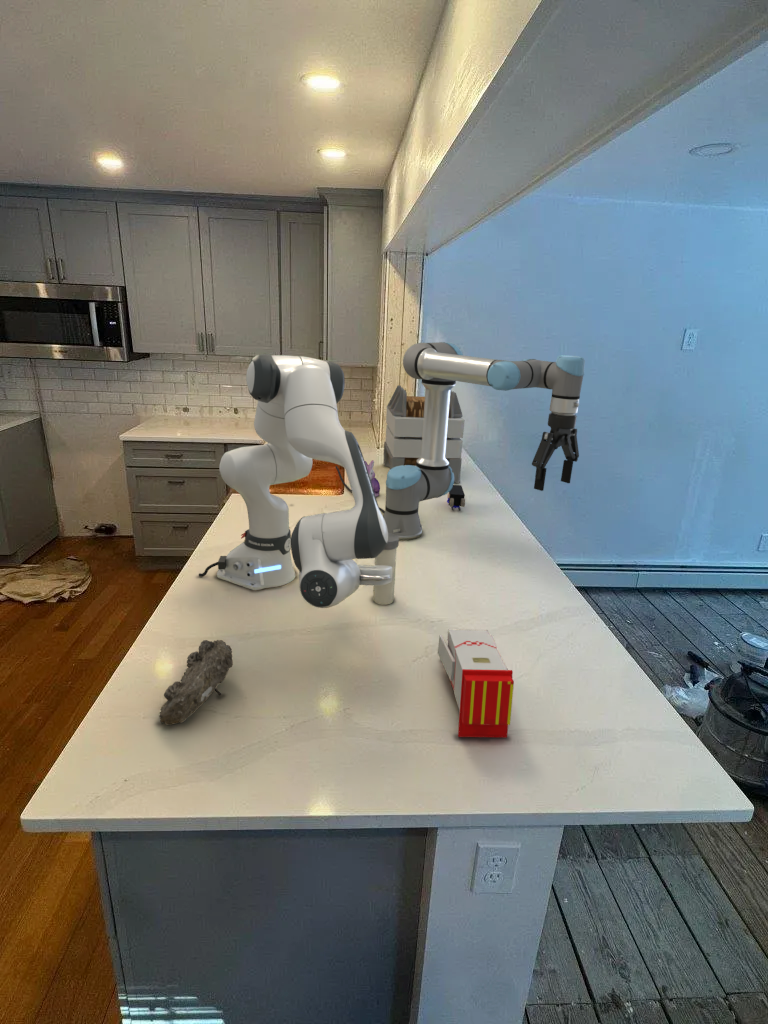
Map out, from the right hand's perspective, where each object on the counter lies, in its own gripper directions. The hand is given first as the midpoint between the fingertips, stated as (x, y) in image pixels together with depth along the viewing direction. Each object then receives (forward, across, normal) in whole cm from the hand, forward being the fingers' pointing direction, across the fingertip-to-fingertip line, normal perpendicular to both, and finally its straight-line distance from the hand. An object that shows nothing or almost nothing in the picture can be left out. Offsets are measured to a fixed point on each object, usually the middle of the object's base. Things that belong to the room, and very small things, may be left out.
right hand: (552, 485), depth 166 cm
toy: (+28, -62, -26) cm, 72 cm away
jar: (+28, -50, +15) cm, 60 cm away
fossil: (+28, -105, +7) cm, 109 cm away
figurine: (+28, +4, +87) cm, 92 cm away
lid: (+10, -50, +15) cm, 53 cm away
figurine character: (+28, +24, +57) cm, 68 cm away
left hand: (+11, -68, +7) cm, 69 cm away
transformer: (+28, +46, +101) cm, 115 cm away
